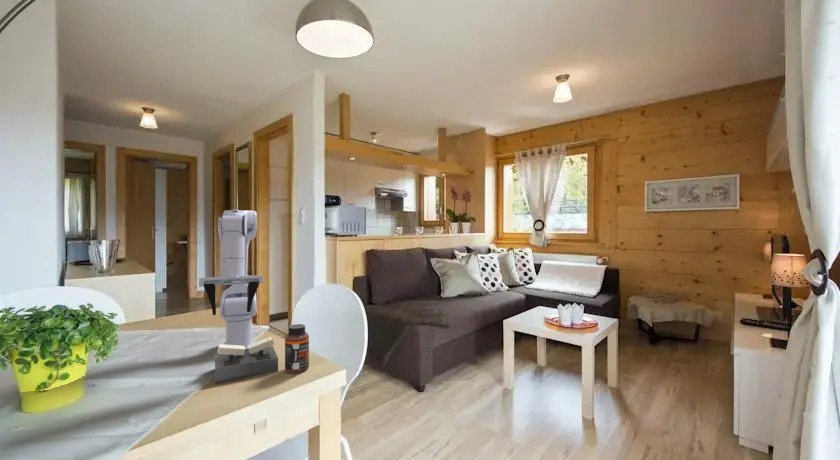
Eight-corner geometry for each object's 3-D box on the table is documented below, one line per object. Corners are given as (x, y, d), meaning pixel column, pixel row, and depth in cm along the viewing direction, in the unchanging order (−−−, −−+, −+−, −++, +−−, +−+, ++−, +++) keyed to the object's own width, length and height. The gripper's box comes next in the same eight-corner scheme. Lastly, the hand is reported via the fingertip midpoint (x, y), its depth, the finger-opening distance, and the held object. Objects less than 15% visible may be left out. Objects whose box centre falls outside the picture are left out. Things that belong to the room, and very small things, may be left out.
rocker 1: (217, 350, 91) (219, 344, 92) (242, 351, 94) (244, 345, 95) (217, 354, 89) (219, 347, 89) (243, 355, 92) (245, 349, 92)
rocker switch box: (215, 368, 93) (214, 352, 92) (272, 358, 100) (272, 343, 99) (215, 384, 84) (214, 366, 84) (278, 371, 91) (278, 354, 91)
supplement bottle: (301, 374, 89) (301, 330, 89) (280, 373, 90) (279, 328, 90) (313, 365, 95) (313, 323, 94) (293, 363, 96) (292, 322, 96)
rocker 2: (249, 350, 95) (247, 345, 95) (272, 341, 98) (270, 336, 98) (250, 354, 93) (248, 348, 92) (274, 344, 95) (272, 339, 95)
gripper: (199, 258, 85) (197, 315, 83) (264, 257, 93) (264, 310, 90) (200, 262, 91) (198, 316, 88) (261, 261, 99) (261, 311, 96)
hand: (231, 313), depth 90 cm, fingers open, 7 cm apart
